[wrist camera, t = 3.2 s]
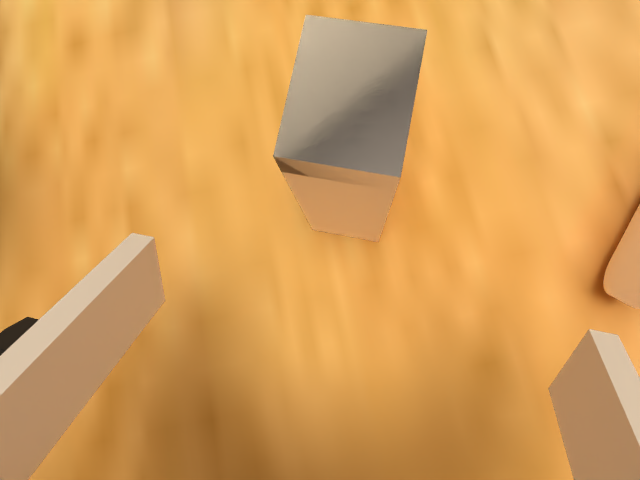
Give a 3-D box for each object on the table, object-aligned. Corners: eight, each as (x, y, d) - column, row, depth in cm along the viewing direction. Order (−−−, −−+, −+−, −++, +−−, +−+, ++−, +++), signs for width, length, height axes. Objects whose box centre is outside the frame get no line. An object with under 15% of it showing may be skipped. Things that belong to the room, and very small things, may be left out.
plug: (312, 229, 25) (273, 156, 13) (328, 151, 26) (306, 14, 14) (378, 242, 24) (400, 177, 13) (393, 162, 25) (427, 29, 13)
